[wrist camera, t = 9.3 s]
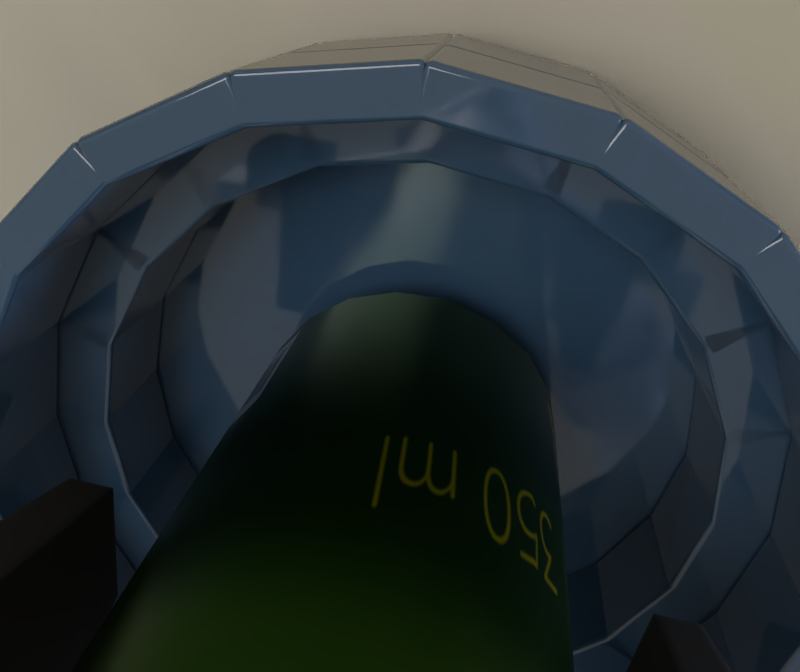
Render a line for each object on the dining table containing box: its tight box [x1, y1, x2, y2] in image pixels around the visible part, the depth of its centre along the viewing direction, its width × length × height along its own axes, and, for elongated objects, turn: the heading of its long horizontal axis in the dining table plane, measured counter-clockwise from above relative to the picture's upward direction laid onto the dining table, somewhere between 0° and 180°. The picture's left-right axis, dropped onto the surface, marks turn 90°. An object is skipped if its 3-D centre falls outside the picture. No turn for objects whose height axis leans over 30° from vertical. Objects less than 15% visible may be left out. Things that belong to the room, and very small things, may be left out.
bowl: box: [0, 34, 800, 672], centre depth 12 cm, size 13×13×4 cm
